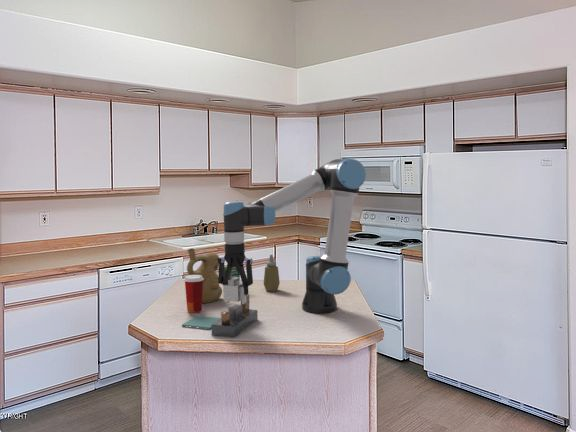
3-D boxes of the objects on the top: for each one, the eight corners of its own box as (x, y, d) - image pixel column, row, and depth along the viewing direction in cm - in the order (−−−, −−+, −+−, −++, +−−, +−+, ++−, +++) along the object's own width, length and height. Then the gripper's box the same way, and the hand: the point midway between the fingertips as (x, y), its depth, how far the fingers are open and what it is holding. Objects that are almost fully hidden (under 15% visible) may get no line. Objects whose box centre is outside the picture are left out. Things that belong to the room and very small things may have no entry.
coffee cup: (205, 308, 212) (204, 274, 211) (202, 313, 204) (202, 278, 202) (186, 308, 212) (185, 274, 210) (182, 313, 204) (181, 278, 202)
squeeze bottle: (270, 287, 248) (270, 253, 246) (283, 290, 243) (282, 254, 241) (260, 290, 242) (259, 255, 240) (272, 293, 236) (272, 257, 235)
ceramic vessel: (231, 297, 229) (230, 245, 226) (202, 307, 213) (200, 251, 210) (204, 292, 238) (203, 242, 236) (174, 302, 222) (173, 248, 220)
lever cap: (248, 295, 188) (247, 275, 188) (238, 302, 180) (237, 280, 179) (233, 294, 190) (233, 274, 190) (223, 300, 182) (223, 279, 181)
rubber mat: (223, 320, 194) (223, 318, 194) (209, 329, 183) (209, 327, 183) (197, 317, 198) (197, 315, 198) (181, 326, 187) (181, 324, 187)
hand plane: (257, 319, 195) (257, 295, 194) (234, 337, 174) (233, 310, 173) (237, 317, 198) (236, 293, 197) (211, 335, 177) (211, 308, 176)
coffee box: (226, 293, 237) (225, 266, 236) (223, 292, 239) (222, 266, 238) (240, 291, 241) (240, 265, 240) (237, 289, 244) (237, 264, 243)
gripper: (261, 242, 183) (262, 301, 186) (216, 240, 190) (218, 298, 192) (253, 245, 176) (255, 307, 179) (207, 243, 183) (209, 303, 185)
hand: (236, 302), depth 185 cm, fingers closed on lever cap, 6 cm apart
